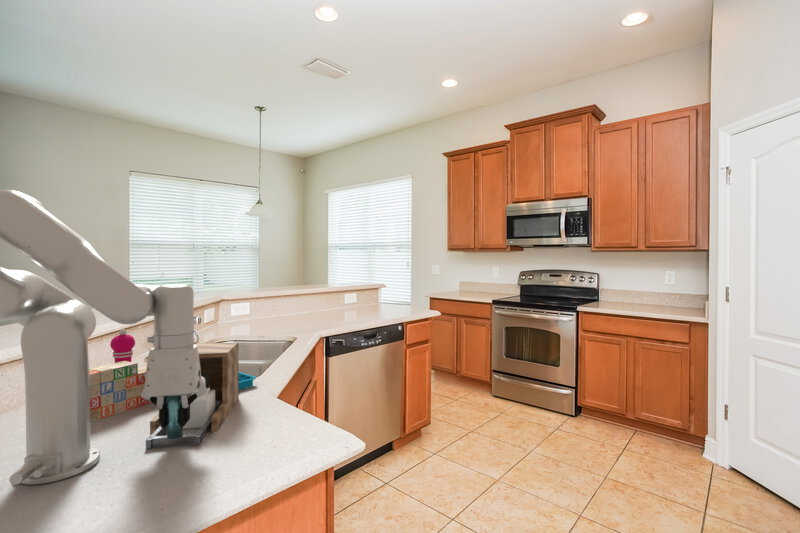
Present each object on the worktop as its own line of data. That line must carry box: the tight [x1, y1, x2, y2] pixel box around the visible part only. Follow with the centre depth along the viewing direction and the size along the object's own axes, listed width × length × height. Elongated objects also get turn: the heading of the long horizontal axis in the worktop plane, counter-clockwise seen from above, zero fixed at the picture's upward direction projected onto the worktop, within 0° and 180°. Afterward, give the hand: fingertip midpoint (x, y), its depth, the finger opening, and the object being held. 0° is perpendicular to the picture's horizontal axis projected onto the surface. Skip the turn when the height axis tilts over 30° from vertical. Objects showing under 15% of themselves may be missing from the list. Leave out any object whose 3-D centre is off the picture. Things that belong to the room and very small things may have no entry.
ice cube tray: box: [238, 371, 257, 391], centre depth 131 cm, size 12×20×3 cm, turn 54°
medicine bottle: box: [183, 373, 215, 430], centre depth 100 cm, size 7×7×12 cm
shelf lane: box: [149, 342, 240, 436], centre depth 104 cm, size 23×14×16 cm, turn 10°
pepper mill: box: [109, 328, 136, 363], centre depth 118 cm, size 7×7×20 cm
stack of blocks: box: [89, 361, 152, 423], centre depth 110 cm, size 21×6×12 cm, turn 153°
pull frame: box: [145, 395, 222, 450], centre depth 95 cm, size 18×11×11 cm, turn 10°
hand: (174, 423), depth 88 cm, fingers closed on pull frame, 3 cm apart
